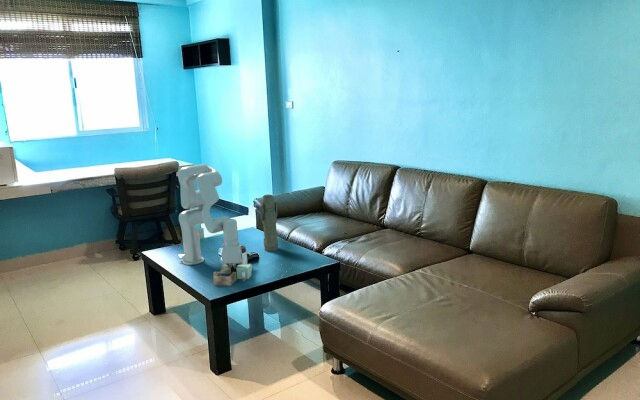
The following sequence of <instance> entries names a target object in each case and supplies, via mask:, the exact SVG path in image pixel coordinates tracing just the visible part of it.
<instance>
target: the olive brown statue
mask: <svg viewBox="0 0 640 400" xmlns="http://www.w3.org/2000/svg"><path fill="white" fill-rule="evenodd" d="M259 210H260V211H259V213H260V214H259V215H260V221H261V222H262V225H263V235H264V236H263V237H264V238H263V247H264V251H265V252H270V253H271V252H276V251H278V250H279V238H278V236H277V235H278V233H277V217H278V204H277V202H276V201H275V198H274V196H273V194H264V195H263V196H262V197H261V204H260V206H259Z"/></svg>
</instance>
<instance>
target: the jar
mask: <svg viewBox="0 0 640 400" xmlns="http://www.w3.org/2000/svg"><path fill="white" fill-rule="evenodd" d="M240 246H241V251H242V257H243V259H242V261H243V264H241V265H248V256H247V255H248V253H247V248H246V246H245V245H240ZM233 265H234V264H233Z"/></svg>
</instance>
